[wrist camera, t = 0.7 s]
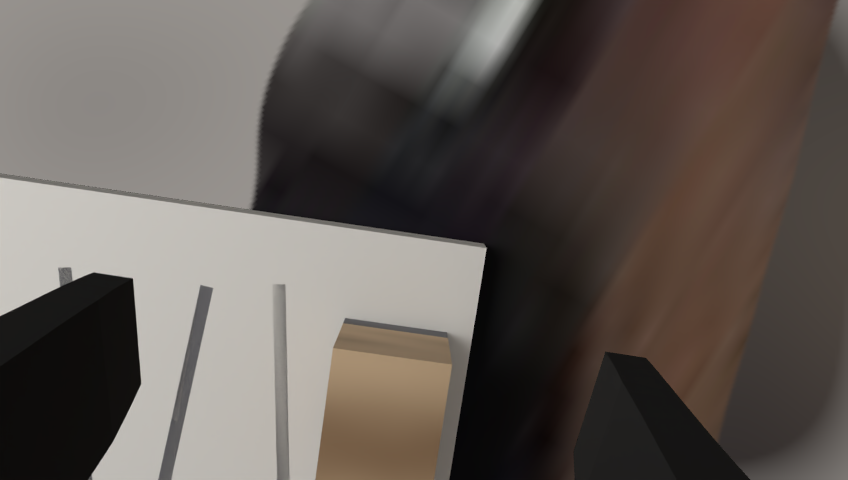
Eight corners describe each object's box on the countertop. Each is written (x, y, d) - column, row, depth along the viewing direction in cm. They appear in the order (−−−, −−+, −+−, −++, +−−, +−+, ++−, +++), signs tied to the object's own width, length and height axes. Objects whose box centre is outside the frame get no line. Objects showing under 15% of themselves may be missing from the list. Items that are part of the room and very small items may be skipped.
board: (425, 606, 30) (425, 625, 29) (-139, 533, 29) (-162, 550, 28) (483, 243, 28) (486, 248, 27) (-124, 155, 27) (-148, 156, 26)
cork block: (421, 499, 28) (421, 557, 24) (322, 485, 28) (306, 542, 24) (447, 332, 27) (452, 364, 23) (345, 318, 27) (332, 347, 23)
